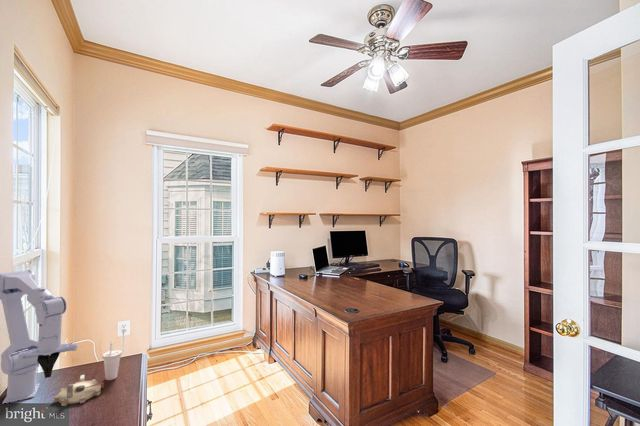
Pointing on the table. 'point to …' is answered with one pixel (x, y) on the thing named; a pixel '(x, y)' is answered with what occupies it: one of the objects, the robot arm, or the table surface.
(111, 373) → the smoothie
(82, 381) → the index pointer
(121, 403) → the table surface
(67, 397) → the sprocket
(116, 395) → the table surface
